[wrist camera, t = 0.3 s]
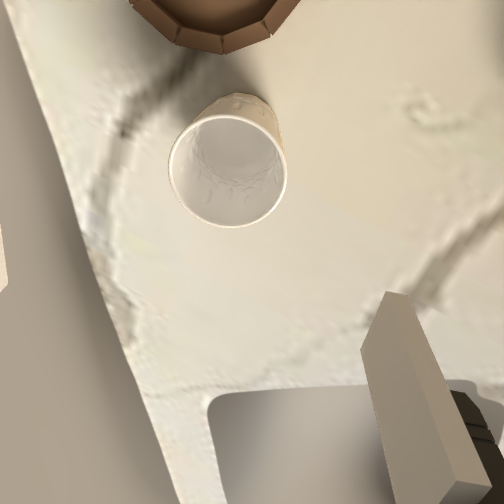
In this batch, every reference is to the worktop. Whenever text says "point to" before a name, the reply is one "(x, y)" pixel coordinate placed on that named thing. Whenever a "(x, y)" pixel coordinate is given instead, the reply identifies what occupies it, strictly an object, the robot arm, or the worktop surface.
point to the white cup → (230, 162)
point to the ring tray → (215, 21)
